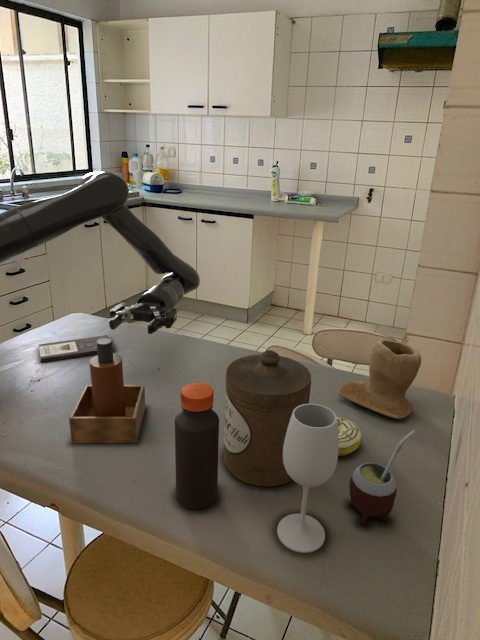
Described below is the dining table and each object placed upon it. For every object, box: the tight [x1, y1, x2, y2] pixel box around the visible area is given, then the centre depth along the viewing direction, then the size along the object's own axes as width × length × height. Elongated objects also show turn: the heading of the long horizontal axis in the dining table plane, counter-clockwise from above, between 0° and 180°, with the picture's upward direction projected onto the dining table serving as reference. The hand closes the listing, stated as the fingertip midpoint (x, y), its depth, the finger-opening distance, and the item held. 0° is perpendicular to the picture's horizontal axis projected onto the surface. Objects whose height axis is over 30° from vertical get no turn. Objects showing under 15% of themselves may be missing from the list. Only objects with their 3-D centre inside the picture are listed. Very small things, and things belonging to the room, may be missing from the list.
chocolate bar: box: [38, 334, 115, 363], centre depth 124 cm, size 9×1×18 cm
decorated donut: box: [336, 415, 362, 457], centre depth 90 cm, size 10×11×4 cm
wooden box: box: [68, 384, 146, 444], centre depth 93 cm, size 12×12×6 cm
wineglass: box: [276, 403, 339, 554], centre depth 66 cm, size 8×8×21 cm
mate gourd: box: [348, 429, 417, 527], centre depth 72 cm, size 8×8×15 cm
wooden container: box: [223, 349, 312, 488], centre depth 81 cm, size 15×15×22 cm
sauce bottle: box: [89, 338, 126, 417], centre depth 90 cm, size 6×6×18 cm
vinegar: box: [174, 382, 220, 510], centre depth 73 cm, size 7×7×20 cm
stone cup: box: [337, 339, 422, 420], centre depth 102 cm, size 15×12×15 cm
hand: (130, 327), depth 98 cm, fingers open, 8 cm apart
